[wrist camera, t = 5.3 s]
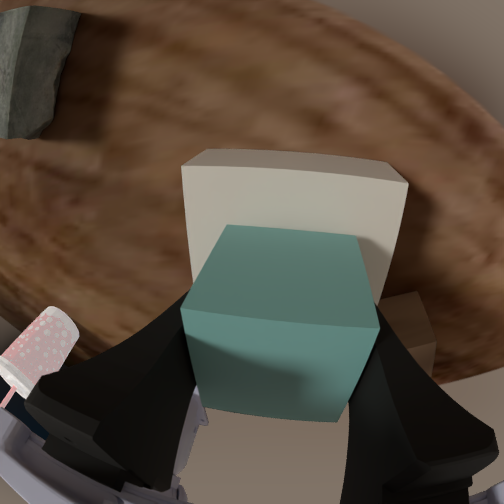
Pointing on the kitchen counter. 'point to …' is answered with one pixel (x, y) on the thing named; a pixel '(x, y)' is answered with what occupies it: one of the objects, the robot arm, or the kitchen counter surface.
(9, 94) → the stone block
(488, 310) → the kitchen counter surface
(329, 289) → the teal cube
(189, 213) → the ceramic base
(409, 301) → the walnut cube
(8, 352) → the beverage cup
